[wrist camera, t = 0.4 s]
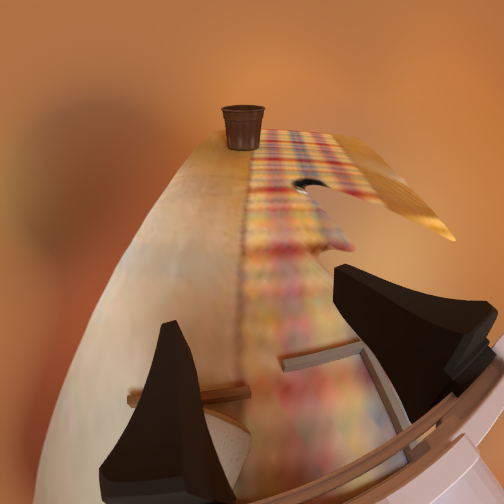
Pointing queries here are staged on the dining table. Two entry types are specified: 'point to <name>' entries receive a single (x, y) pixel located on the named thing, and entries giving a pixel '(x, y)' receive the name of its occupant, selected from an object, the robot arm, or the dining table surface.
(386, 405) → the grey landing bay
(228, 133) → the plant pot
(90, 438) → the dining table surface
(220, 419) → the speckled coffee cup
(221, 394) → the walnut dock
